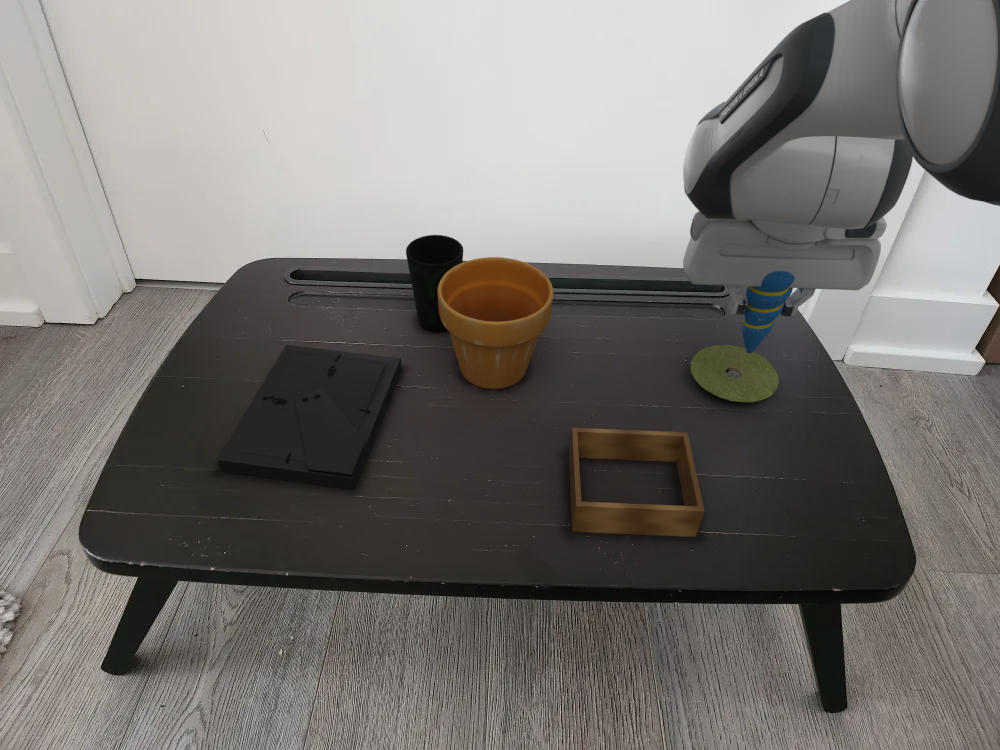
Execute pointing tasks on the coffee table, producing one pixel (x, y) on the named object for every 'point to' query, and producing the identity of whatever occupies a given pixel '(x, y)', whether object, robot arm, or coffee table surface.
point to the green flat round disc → (734, 373)
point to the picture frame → (313, 418)
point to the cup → (431, 275)
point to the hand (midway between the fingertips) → (761, 312)
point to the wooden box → (635, 515)
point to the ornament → (765, 307)
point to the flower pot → (494, 317)
